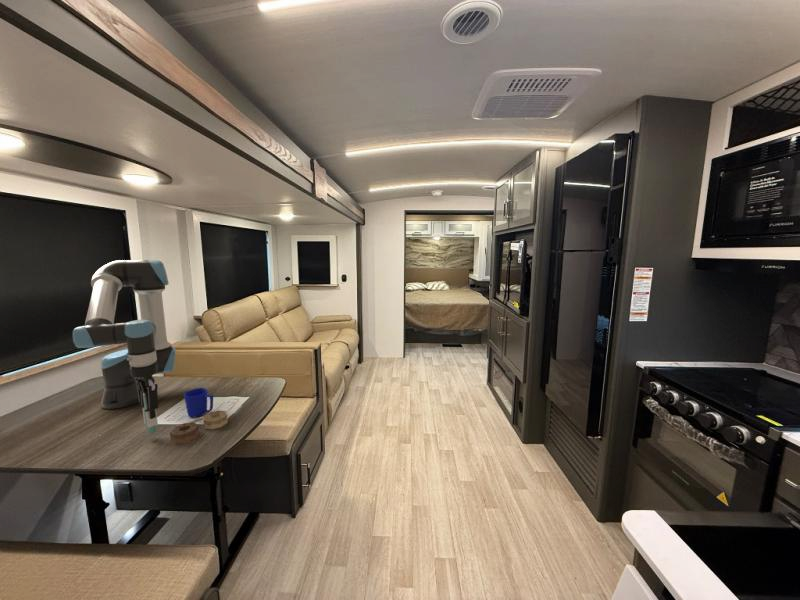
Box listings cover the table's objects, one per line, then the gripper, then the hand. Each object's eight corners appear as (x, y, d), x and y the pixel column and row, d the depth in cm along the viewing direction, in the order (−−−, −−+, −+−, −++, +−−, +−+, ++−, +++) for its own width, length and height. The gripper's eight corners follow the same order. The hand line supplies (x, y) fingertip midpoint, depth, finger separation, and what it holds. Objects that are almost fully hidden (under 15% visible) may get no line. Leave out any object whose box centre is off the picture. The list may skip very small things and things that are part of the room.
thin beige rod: (174, 429, 120) (174, 428, 120) (173, 429, 121) (173, 427, 120) (213, 414, 132) (213, 412, 132) (212, 413, 133) (212, 411, 132)
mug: (206, 421, 126) (203, 398, 125) (181, 418, 129) (178, 395, 127) (221, 411, 134) (219, 389, 133) (197, 408, 137) (195, 387, 135)
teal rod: (146, 432, 114) (141, 391, 112) (154, 429, 116) (149, 388, 114) (149, 434, 113) (144, 392, 110) (157, 431, 115) (152, 390, 112)
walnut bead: (168, 438, 114) (167, 430, 114) (191, 428, 121) (191, 420, 120) (178, 446, 110) (177, 436, 110) (202, 435, 117) (201, 426, 116)
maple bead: (199, 428, 121) (198, 419, 121) (214, 417, 129) (213, 409, 129) (217, 430, 120) (216, 421, 120) (231, 419, 128) (231, 411, 127)
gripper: (122, 362, 111) (130, 422, 115) (139, 371, 103) (147, 436, 107) (147, 356, 118) (154, 413, 121) (165, 364, 109) (172, 426, 113)
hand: (151, 424), depth 114 cm, fingers closed on teal rod, 2 cm apart
